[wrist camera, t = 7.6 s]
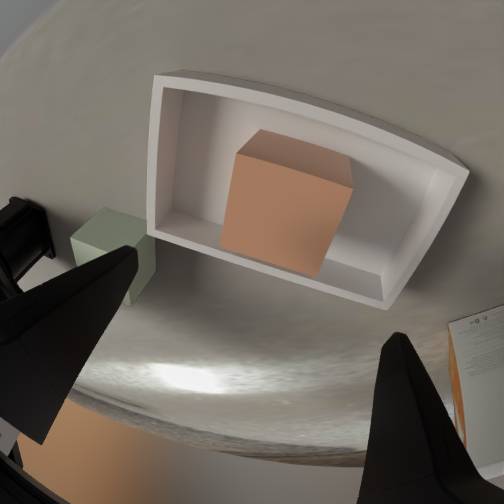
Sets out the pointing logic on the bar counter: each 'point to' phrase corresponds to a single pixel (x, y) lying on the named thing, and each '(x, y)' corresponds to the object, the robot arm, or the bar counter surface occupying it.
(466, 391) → the small box
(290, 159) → the brick
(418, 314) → the bar counter surface
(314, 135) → the tote
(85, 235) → the pale green block
